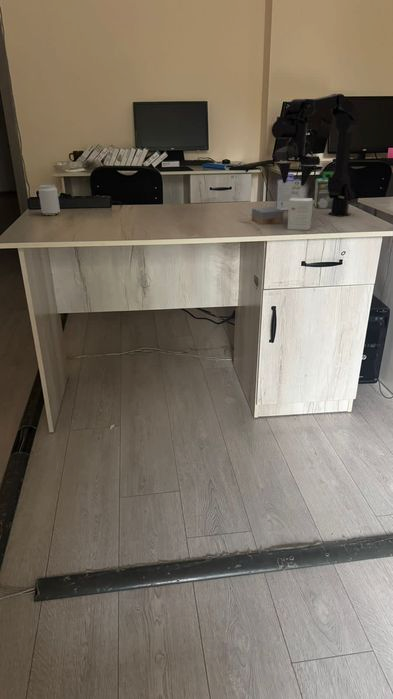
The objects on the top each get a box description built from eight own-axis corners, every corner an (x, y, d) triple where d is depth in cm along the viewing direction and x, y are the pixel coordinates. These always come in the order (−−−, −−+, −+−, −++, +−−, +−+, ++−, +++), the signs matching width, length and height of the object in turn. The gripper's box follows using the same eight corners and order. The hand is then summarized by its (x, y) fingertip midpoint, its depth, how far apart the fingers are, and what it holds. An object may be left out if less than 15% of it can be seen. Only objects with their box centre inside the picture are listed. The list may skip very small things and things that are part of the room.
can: (57, 216, 212) (53, 186, 207) (39, 216, 212) (35, 186, 207) (62, 212, 219) (58, 183, 214) (45, 213, 219) (40, 184, 214)
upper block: (272, 213, 201) (272, 206, 200) (283, 217, 193) (283, 210, 192) (252, 215, 198) (252, 208, 197) (262, 219, 191) (262, 212, 190)
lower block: (271, 219, 202) (272, 213, 201) (282, 223, 195) (283, 217, 193) (251, 221, 200) (251, 215, 198) (261, 225, 192) (262, 219, 191)
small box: (311, 227, 186) (313, 197, 182) (309, 230, 182) (311, 200, 177) (289, 226, 189) (291, 197, 184) (287, 229, 184) (288, 199, 179)
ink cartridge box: (298, 208, 221) (300, 173, 215) (299, 210, 216) (302, 174, 210) (275, 208, 222) (277, 173, 215) (276, 210, 217) (278, 175, 210)
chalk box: (334, 205, 227) (337, 170, 220) (337, 208, 219) (341, 172, 212) (313, 204, 228) (316, 170, 221) (315, 208, 220) (318, 172, 213)
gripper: (262, 137, 182) (259, 182, 189) (300, 139, 168) (296, 188, 175) (285, 137, 188) (281, 181, 194) (323, 139, 174) (318, 186, 181)
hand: (293, 184), depth 186 cm, fingers open, 9 cm apart
